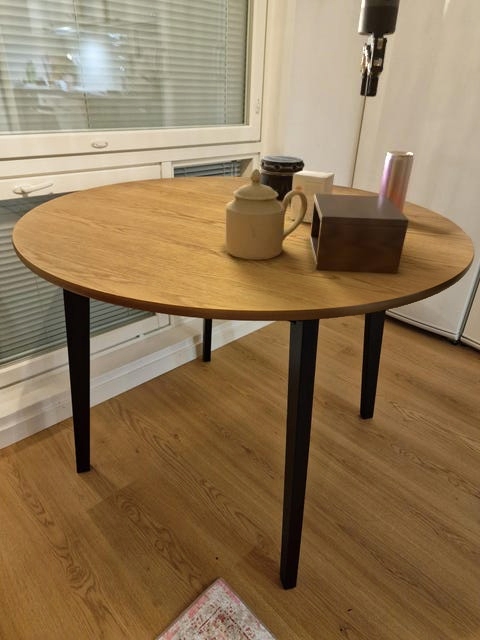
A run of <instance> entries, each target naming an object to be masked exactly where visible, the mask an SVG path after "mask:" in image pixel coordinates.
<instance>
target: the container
mask: <svg viewBox="0 0 480 640" xmlns="http://www.w3.org/2000/svg"><path fill="white" fill-rule="evenodd" d="M258 164H259V166H260V168H259V172H260V174H261V180H260V184H262V185H265V186H269V187H271V188H272V189H273V190H274V191H275V192H277V193H278V197H276V199H277V200H284V198H285V196H286V194H287V193H289V192H290V191H292V185H293V174H295V173H297V172H300V171H303V170H304V168H305V163H304V160H303V158H300V157H297V156H289V155H266V156H262V157H261V159H260V160H259V162H258ZM290 200H292V198H291V199H290Z"/></svg>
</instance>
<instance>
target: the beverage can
mask: <svg viewBox="0 0 480 640" xmlns="http://www.w3.org/2000/svg"><path fill="white" fill-rule="evenodd" d="M414 155H415V154H414V153H413V152H410V151H401V150H400V151H399V150H392V151H387V154H386V156H385V160H384V166H383V172H382V177H381V183H380V189H379V194H378V196H387V197H388V198H389V199H390V201H391V202H392V203H393V204H394V205H395V206H396V207H397V208H398V209H399V210H400V211H401V212H402V213H403V212H404V207H405V202H406V198H407V193H408V190H409V189H408V188H409V184H410V179H411V173H412V168H413V163H414ZM403 214H404V213H403Z"/></svg>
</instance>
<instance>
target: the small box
mask: <svg viewBox="0 0 480 640" xmlns="http://www.w3.org/2000/svg"><path fill="white" fill-rule="evenodd" d="M334 179H335V173H332V172H331V173H330V172H322V171H321V172H320V171H313V170H304V169H303V171H300V172H297V173H295V174H293V185H292V190H299V191H301V192H303V193H304V194H305V196H306V198H307V211H306V214H305V217H304V219H303V221H302V223H312V213H313V203H314V194H331V195H333V189H334V181H335V180H334ZM290 201H291V202H290V203H291V204H290V220H292V221H295V220H296V218H297V216H298V214H299V212H300V209H301V199H300V196H299V195H295V196H293V197H292V199H291V200H290Z"/></svg>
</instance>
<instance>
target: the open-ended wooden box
mask: <svg viewBox="0 0 480 640" xmlns="http://www.w3.org/2000/svg"><path fill="white" fill-rule="evenodd" d="M409 222H410V219H409V218H408V217H407V216H406V215H405V214H404V213H402V212H401V211H400V210H399V209H398V208H397V207H396V206H395V205H394V204H393V203H392V202H391V201H390V199H389V198H388V197H387V196H379V195H358V194H357V195H354V194H332V195H331V194H314V203H313V213H312V223H311V224H310V233H309V242H310V247H311V252H312V257H313V262H314V267H315V270H318V271H337V272H339V271H340V272H359V273H361V272H362V273H381V274H383V273H384V274H385V273H386V274H398V272H399V268H400V262H401V258H402V253H403V249H404V244H405V239H406V235H407V231H408V227H409Z"/></svg>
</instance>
